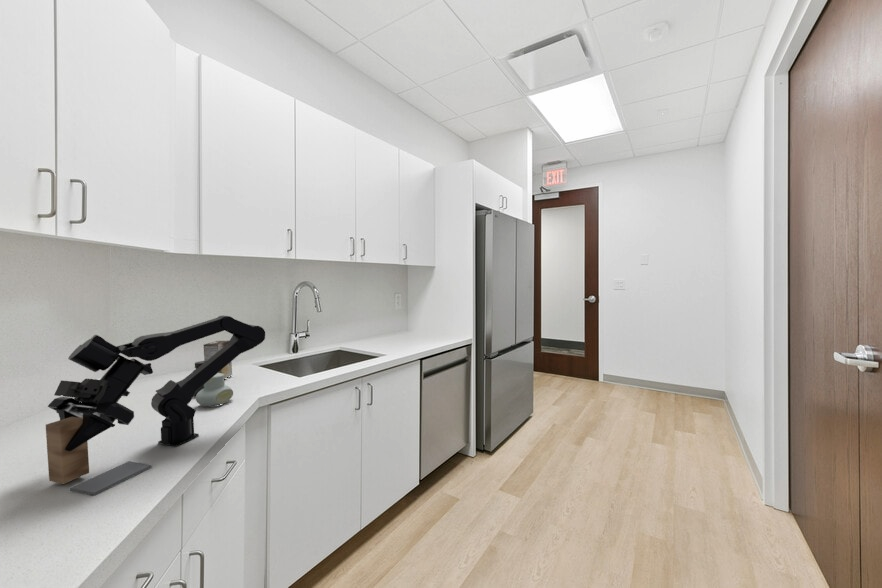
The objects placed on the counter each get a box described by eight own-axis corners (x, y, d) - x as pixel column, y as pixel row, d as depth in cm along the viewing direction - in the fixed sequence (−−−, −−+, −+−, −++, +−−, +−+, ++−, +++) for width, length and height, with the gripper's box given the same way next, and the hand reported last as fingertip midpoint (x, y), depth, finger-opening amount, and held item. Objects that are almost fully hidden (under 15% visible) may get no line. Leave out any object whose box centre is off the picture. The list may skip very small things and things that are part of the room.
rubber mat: (129, 463, 84) (128, 461, 84) (151, 467, 83) (151, 464, 82) (69, 490, 74) (69, 487, 74) (94, 495, 72) (94, 492, 72)
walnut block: (75, 470, 80) (71, 416, 79) (89, 472, 79) (86, 418, 78) (49, 481, 76) (45, 424, 75) (63, 483, 75) (60, 426, 74)
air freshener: (210, 410, 118) (209, 380, 118) (191, 408, 120) (189, 378, 120) (237, 399, 129) (236, 371, 128) (219, 397, 131) (218, 370, 131)
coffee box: (218, 376, 160) (216, 340, 159) (232, 376, 160) (231, 340, 159) (204, 382, 151) (202, 344, 150) (220, 382, 151) (218, 344, 150)
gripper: (56, 361, 83) (-12, 429, 72) (116, 366, 78) (52, 439, 67) (99, 386, 90) (43, 449, 80) (155, 391, 86) (104, 459, 75)
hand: (59, 449), depth 76 cm, fingers closed on walnut block, 4 cm apart
